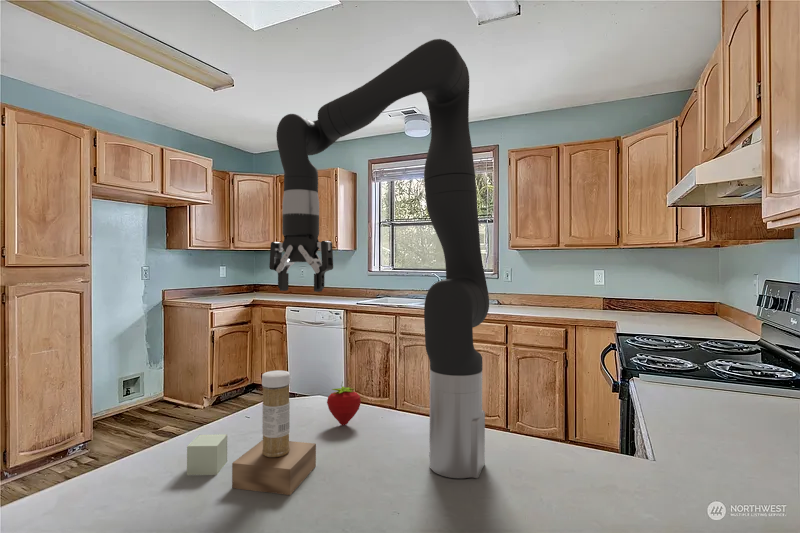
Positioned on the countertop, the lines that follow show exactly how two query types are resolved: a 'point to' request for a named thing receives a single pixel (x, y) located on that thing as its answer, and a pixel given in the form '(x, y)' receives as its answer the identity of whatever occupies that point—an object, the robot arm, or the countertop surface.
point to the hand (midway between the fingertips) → (300, 291)
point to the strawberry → (343, 404)
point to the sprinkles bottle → (276, 413)
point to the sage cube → (207, 455)
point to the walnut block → (274, 469)
